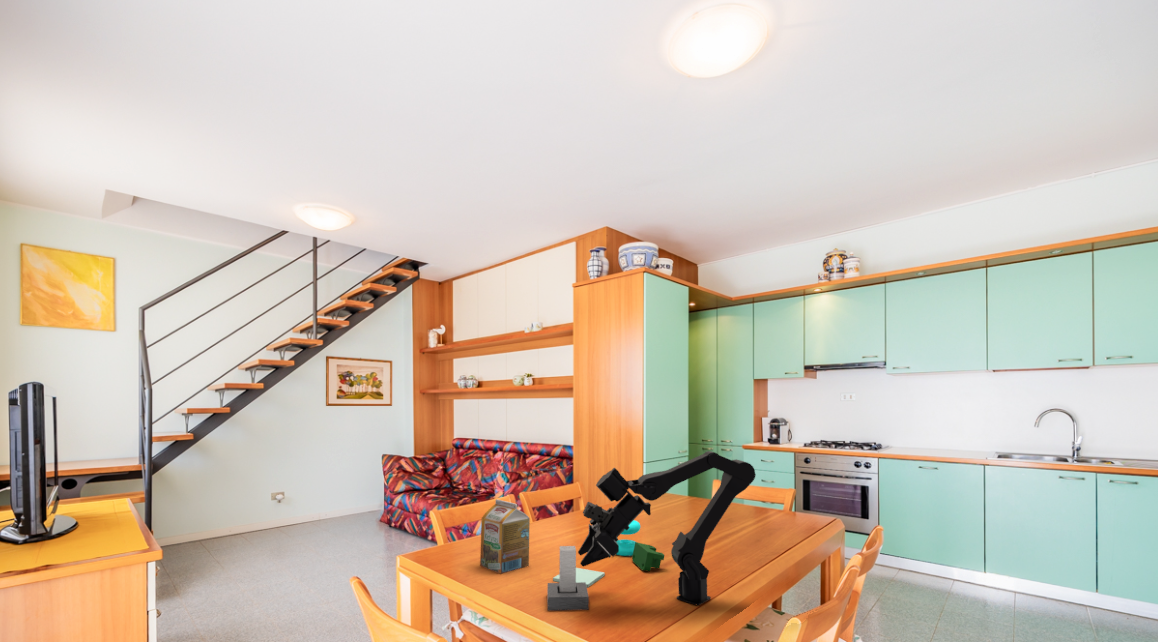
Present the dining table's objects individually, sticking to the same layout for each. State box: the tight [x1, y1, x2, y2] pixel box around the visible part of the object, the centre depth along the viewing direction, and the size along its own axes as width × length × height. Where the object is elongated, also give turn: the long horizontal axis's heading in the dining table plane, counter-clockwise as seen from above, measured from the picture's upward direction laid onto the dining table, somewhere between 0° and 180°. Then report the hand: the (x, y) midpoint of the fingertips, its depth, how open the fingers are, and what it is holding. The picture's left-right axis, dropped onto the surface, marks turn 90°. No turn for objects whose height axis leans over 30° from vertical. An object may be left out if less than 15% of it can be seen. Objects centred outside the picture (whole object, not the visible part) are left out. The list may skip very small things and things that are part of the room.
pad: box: [552, 567, 606, 589], centre depth 150 cm, size 11×11×1 cm
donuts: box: [615, 519, 641, 557], centre depth 176 cm, size 10×10×10 cm
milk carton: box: [479, 499, 531, 575], centre depth 162 cm, size 11×11×19 cm
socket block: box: [546, 582, 590, 612], centre depth 133 cm, size 10×10×3 cm
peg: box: [558, 545, 577, 593], centre depth 133 cm, size 4×4×13 cm
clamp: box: [631, 541, 665, 572], centre depth 162 cm, size 12×6×9 cm, turn 7°
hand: (580, 559), depth 134 cm, fingers open, 9 cm apart
